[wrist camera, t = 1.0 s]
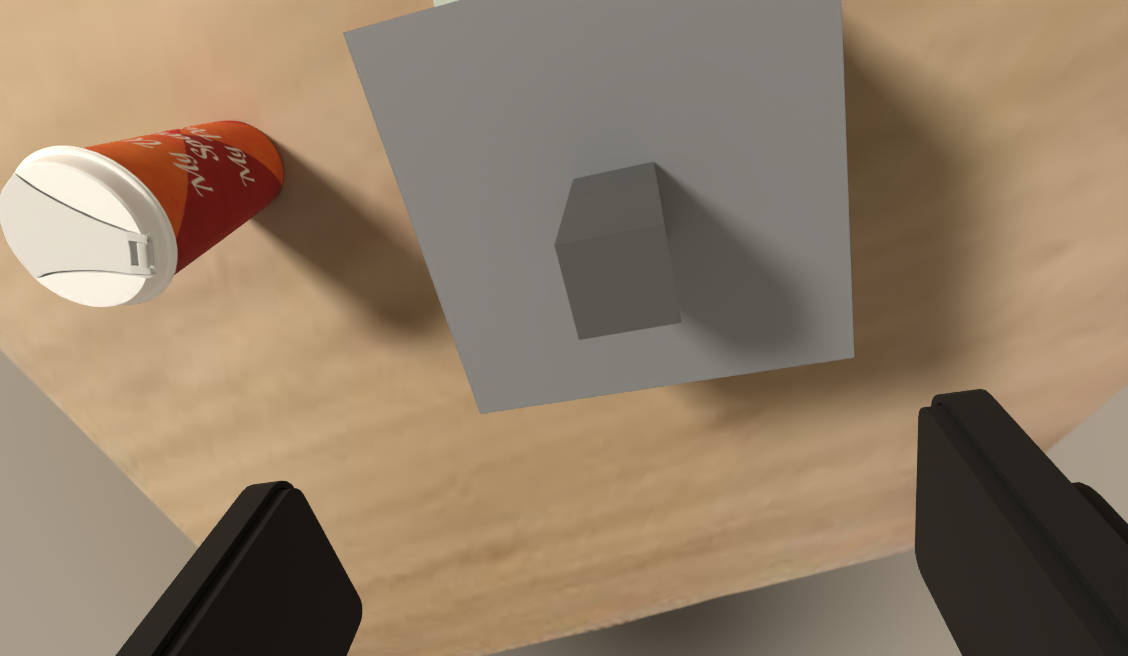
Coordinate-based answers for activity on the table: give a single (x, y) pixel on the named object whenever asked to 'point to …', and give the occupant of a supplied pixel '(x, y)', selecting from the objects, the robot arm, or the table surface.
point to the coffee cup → (135, 208)
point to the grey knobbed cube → (621, 186)
